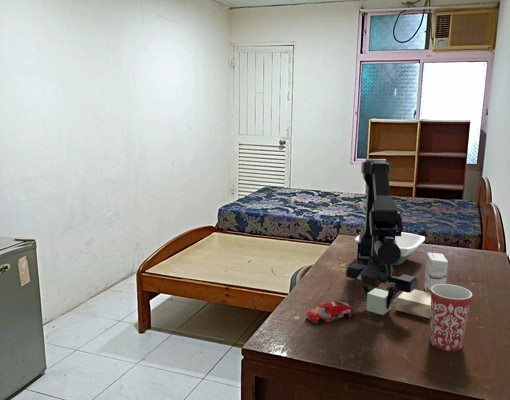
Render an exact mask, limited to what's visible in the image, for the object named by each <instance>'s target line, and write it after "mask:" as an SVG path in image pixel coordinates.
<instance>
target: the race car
mask: <svg viewBox="0 0 510 400" xmlns="http://www.w3.org/2000/svg"><path fill="white" fill-rule="evenodd" d="M352 316H354V310H353V306H352V305H350V304H349V303H348V302H344V301H340V300H339V301H338V300H337V301H334V300H333V301H327V302H325V303H322V304H319V306H317V307H315V308H311V309H309V310H308V311H307V314H306V319H307V321H309V322H311V323H313V324H317V325H320V324H321V325H323V324H324V323H329V322H334V321H340V320H347V319H349V318H351V317H352Z"/></svg>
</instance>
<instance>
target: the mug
mask: <svg viewBox="0 0 510 400" xmlns="http://www.w3.org/2000/svg"><path fill="white" fill-rule="evenodd" d="M472 298H473V293H472V291H471V290H469V289H467V287H466V288H465V287H463V286H459V285H455V284H450V283H446V284H437V285H434V286H432V287H431V317H430V318H429V319H430V321H429V322H430V323H429V324H430V325H429V342H430V344H431V345H432V346H433V347H434V348H437V349H439V350H442V351H446V352H458V351H460V350H461V349H463V345H464V341H465V339H464V338H465V333H466V327H467V321H468V316H469V310H470V307H471V306H470V305H471V300H472Z"/></svg>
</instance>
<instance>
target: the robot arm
mask: <svg viewBox="0 0 510 400" xmlns="http://www.w3.org/2000/svg"><path fill="white" fill-rule="evenodd" d="M360 168H361V171H360V172H361V174H362V179H363V180H364V182H365V183H366V201H365V218H364V229H363V230H362V232H361V233H360V234H359V235H360V236H359V235H358V236H359V242H356V245H355V251H354V254H355V255H354V256H355V260H356V261H357V262H355V263H353V264H351V265H349V266H348V267H346V270H345V277H346V278H350V279H353V280H356V283H359V284H360V285H361V287H362V288H363V291H364V293H365V297H366V298H367V293H368V292H370V291H371V290H373V289H374V288H377V287H379V286H380V285H381V284H387V283H390V286H389V287H387V288H386V291H388V297H387V309H389V308H390V306H391V307H392V304H393V302H394V301H395V299H396V296H397V294H398V293H400V292H407V293H410V292H412V291H413V290H414V289H417V288H418V284H419V283H418V282H419V281H418V278H417V276H413V275H408V274H405V273H404V274H402V275H400V276H395V275H393V274H394V272H395V270H394V269H393V265H392V264H394V263H396V262H397V261H398V260H399V259H400V256H401V251H400V248H399V247H398V245H397V244H396V242H395V236H401V232H403V231H404V225H403V218H402V215H401V212H400V211H399V210H398V205H397V203H396V202H395V201H394V200H393V199H392V195H391V187H390V179H389V175H391V173H392V162H387V159H386V158H366V159H365V160H364V161H362V162H361V167H360Z"/></svg>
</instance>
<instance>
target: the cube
mask: <svg viewBox="0 0 510 400" xmlns="http://www.w3.org/2000/svg"><path fill="white" fill-rule="evenodd" d="M387 297H388V291H387V290H383V289H380V288H377V287H373V290H371V291H370V292H368V293H367V297H366V310H365V311H367V312H371V313H375V314H377V315H382V316H384V315H386V314H387V313H388V312H389V311H390V310H392V305H391V306H390V308H389V309H387Z"/></svg>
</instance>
